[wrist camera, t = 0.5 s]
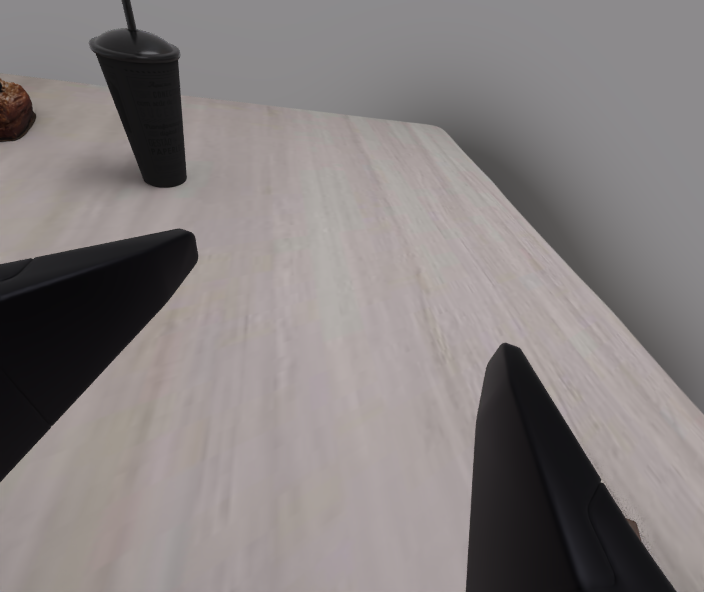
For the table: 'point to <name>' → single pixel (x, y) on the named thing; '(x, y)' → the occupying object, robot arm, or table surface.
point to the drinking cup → (146, 98)
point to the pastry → (14, 111)
